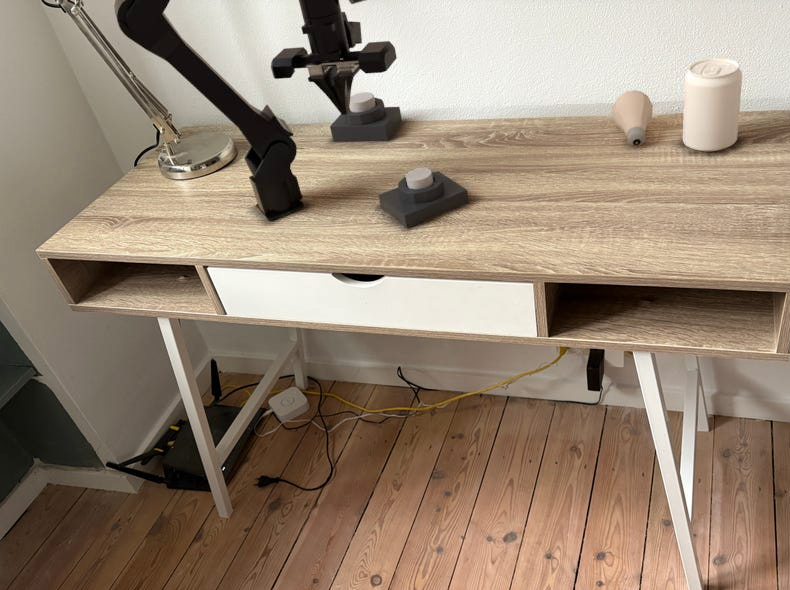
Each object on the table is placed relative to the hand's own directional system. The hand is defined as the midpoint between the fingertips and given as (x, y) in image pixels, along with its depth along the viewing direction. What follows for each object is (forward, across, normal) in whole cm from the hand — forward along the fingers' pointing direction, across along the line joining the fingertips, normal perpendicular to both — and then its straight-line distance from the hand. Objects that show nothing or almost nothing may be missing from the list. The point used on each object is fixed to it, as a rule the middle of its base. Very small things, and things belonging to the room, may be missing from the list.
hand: (345, 113), depth 130 cm
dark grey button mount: (+12, +6, -20) cm, 24 cm away
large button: (+7, +6, -20) cm, 22 cm away
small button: (+8, -13, +8) cm, 18 cm away
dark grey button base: (+12, -13, +8) cm, 20 cm away
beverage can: (+12, -55, -11) cm, 58 cm away
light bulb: (+12, -43, -15) cm, 47 cm away
